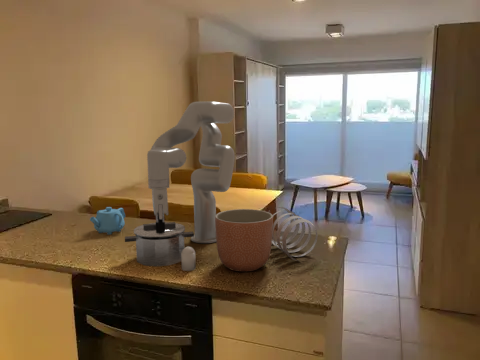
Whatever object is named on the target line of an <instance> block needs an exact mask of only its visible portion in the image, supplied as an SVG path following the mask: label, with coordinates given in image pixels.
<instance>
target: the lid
mask: <svg viewBox="0 0 480 360" xmlns="http://www.w3.org/2000/svg"><path fill="white" fill-rule="evenodd" d="M164 222H165V233H156V222H150V223H144V224H142V225H138V226H136V227H135V228H134V229H133V234H134V236H136V235H137V236H140V237H146V238H163V237H170V236H175V235H178V234H181V233H183V232H186V227H185V225H183V224H181V223H176V222H175V221H173V222H171V221H170V222H166V221H164Z"/></svg>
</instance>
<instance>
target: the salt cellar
mask: <svg viewBox="0 0 480 360" xmlns="http://www.w3.org/2000/svg"><path fill="white" fill-rule="evenodd" d="M181 270H182V271H184V272H185V271H186V272H189V271H190V272H191V271H194V270H196V251H195V249H194V247H192V246H186V247H185V246H184V249H183V250H182V252H181Z"/></svg>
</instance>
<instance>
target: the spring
mask: <svg viewBox="0 0 480 360" xmlns="http://www.w3.org/2000/svg"><path fill="white" fill-rule="evenodd" d="M278 208H279V209H283V211H285V212H287V213H283V214H281V215H280V216H278V217H277V218H276V219H275V220H274V221H273V231H272V244H273V245H274V246H275V247H277V248H278V249H280V250H281V252H283V253H284V254H285V255H286V256H287V257H288V258H290V259H291V260H293V261H295V262H296V261H297V262H299V260H298V259H295V258H296V257H297V258H300V257H304V256H306V255H308V254H309V253H310V252H311V251H313V250H314V248H315V246H316V245H317V241H318V237H319V236H318V231H317V229H316V228H314V229H315V239H314V242H313V243H312V245H311V247H310V248H309V249H308V250H307V251H305V252H304V253H302V254H299V255H291V254H290V253H296V252H299V251H302V250H303V249H305V247H306V246H307V245H308V243H310V240H311V238H312V228H311V225H312V226H313V227H315V225H314V224H313V223H312V222H311V221H310V220H308V219H306V218H303V217H302V216H300V215H297V214H296V213H295V212H293V211H292V210H289V209H287V207H283V206H279V207H278V206H277V207H276V209H278ZM280 212H281V210H279V211H277V212H275V213H273V214H272V215H273V217H274V216H275V215H276V214H277V213H278V214H279V213H280ZM288 215H289V217H287V218H285V219H284V220H283V221H281V223H280V224H279V226H278V228H277V230H276V241H275V235H274V234H275V233H274V232H275V228H276V226H277V223H278V222H279V221H280V220H281V219H282V218H283V217H285V216H288ZM289 221H290V223H289V224H288V225H287V226H286V224H287V223H288V222H289ZM306 223H307V227H308V234H307V237H306V240H305V241H304V243H303V244H301V246H299V247H297V248H296V249H293V250H288V249H291V248H294V247H296V246H297V245H299V243H300V242H302V240H303V238H304V236H305V233H306ZM300 224H301V225H300ZM284 226H286V228H285V229H284V231H283V233H281V232H282V230H283V228H284ZM300 226H301V232H300V234H299V231H300ZM293 227H295V228H294V230H293ZM292 230H293V232H292ZM291 232H292V234H291ZM281 234H282V235H281ZM289 234H291V235H290V236H288V235H289ZM298 234H299V236H298V238H296V237H297V235H298ZM295 238H296V240H295V241H294V242H292V241H293V240H294V239H295ZM291 242H292V243H291ZM280 243H282V245H281V244H280ZM277 244H278V245H277ZM287 248H288V249H287ZM294 257H295V258H294Z"/></svg>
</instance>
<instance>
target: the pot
mask: <svg viewBox="0 0 480 360" xmlns="http://www.w3.org/2000/svg"><path fill="white" fill-rule="evenodd" d="M194 235H195V232H194V231H184V232H183V233H181V234H178V235H175V236H170V237H163V238H146V237H140V236H137V235H132V236H131V235H129V236H128V235H127V236H124V242H125V243H129V242H135V249H136V251H135V252H136V263H139V264H140V265H143V266H147V267H163V266H171V265H174V264H179V263H180V262H182V260H181V252H182V250H183V249H184V248H185V238H191V237H194Z"/></svg>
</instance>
